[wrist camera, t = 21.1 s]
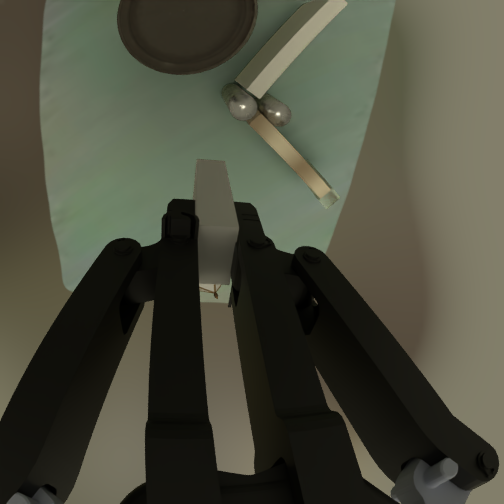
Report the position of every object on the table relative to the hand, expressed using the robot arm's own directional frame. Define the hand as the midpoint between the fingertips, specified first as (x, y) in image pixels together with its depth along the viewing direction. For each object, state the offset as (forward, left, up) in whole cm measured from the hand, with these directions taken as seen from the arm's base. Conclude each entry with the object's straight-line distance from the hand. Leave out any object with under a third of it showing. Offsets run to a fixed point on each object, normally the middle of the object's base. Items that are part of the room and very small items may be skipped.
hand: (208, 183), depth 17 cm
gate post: (-4, +2, -23) cm, 23 cm away
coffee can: (-8, -7, -23) cm, 25 cm away
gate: (-2, +10, -22) cm, 24 cm away
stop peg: (-5, +6, -23) cm, 24 cm away
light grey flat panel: (-12, +2, -23) cm, 25 cm away
